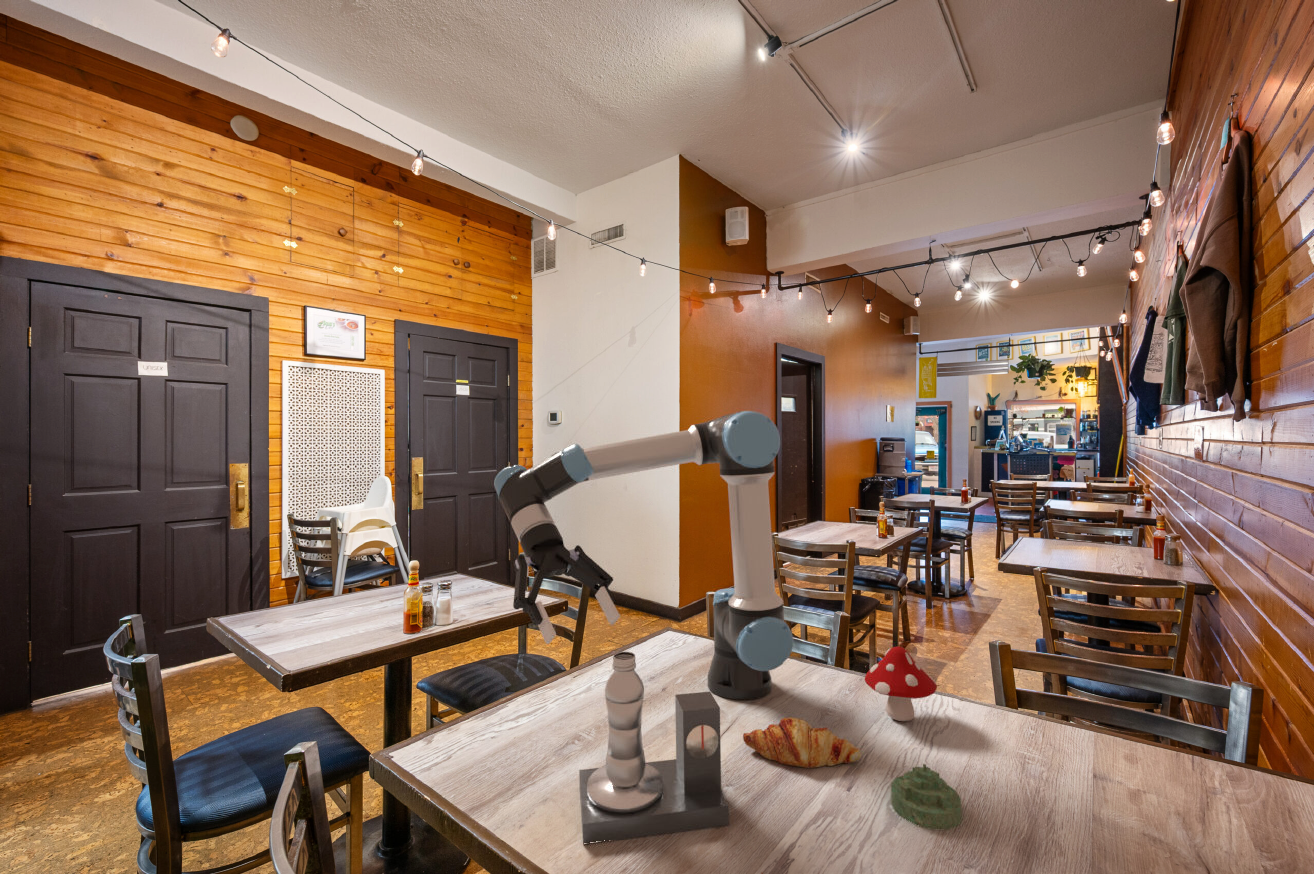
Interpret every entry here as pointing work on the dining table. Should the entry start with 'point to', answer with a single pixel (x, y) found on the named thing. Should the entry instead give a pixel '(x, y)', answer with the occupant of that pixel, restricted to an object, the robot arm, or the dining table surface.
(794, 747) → the croissant
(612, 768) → the plastic bottle
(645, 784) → the scale pan
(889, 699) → the decorative mushroom
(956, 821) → the decorative artifact
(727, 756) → the dining table surface
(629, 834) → the scale
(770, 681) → the robot arm
